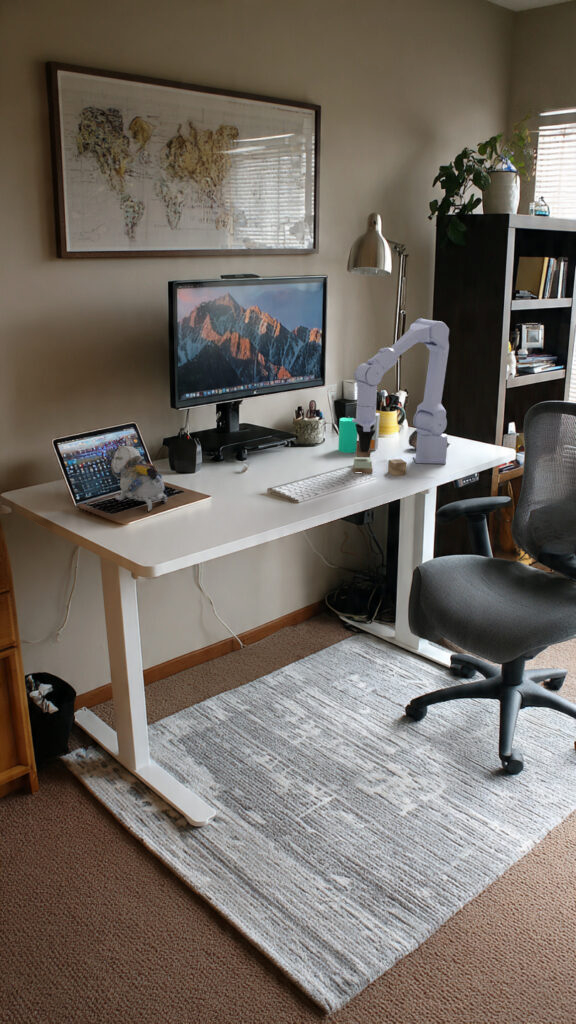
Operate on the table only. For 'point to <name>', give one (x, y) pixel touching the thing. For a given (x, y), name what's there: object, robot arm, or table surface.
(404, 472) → the oak cube
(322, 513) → the table surface
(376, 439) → the skincare box
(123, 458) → the robotic toy
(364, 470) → the slab bottom
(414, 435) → the bison figurine
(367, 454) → the walnut cube
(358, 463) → the slab top
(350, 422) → the candle
